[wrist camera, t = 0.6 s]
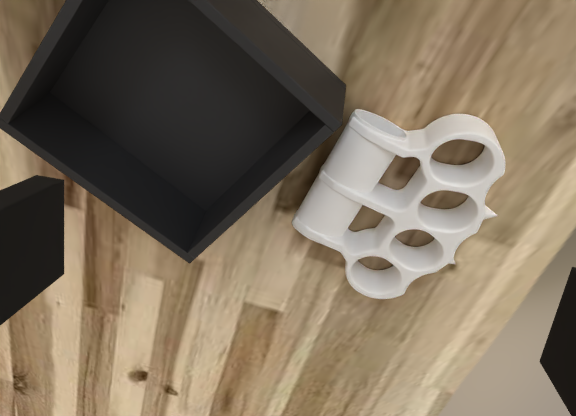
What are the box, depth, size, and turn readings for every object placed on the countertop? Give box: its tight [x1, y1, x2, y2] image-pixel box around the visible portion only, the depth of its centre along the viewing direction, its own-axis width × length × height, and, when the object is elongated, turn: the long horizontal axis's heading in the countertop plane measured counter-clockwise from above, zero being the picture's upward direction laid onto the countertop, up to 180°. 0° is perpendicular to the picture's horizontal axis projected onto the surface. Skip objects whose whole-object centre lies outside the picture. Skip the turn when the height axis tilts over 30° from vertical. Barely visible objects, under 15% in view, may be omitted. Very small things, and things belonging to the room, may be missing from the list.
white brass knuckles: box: [292, 109, 505, 299], centre depth 43 cm, size 3×18×15 cm
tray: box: [0, 0, 346, 263], centre depth 38 cm, size 18×18×7 cm
